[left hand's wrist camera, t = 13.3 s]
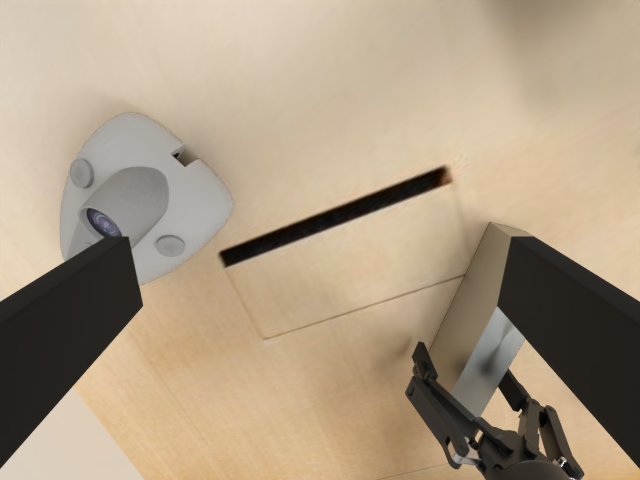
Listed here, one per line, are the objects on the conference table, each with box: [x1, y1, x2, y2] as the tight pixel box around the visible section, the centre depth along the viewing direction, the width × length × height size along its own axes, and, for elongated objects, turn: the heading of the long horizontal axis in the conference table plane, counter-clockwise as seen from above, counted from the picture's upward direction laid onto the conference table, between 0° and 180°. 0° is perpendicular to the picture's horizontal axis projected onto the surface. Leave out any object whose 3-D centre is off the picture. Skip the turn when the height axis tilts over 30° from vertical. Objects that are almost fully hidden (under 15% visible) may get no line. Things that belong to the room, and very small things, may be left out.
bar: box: [428, 222, 554, 417], centre depth 46 cm, size 24×5×9 cm, turn 165°
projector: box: [60, 113, 233, 286], centre depth 38 cm, size 22×23×15 cm
